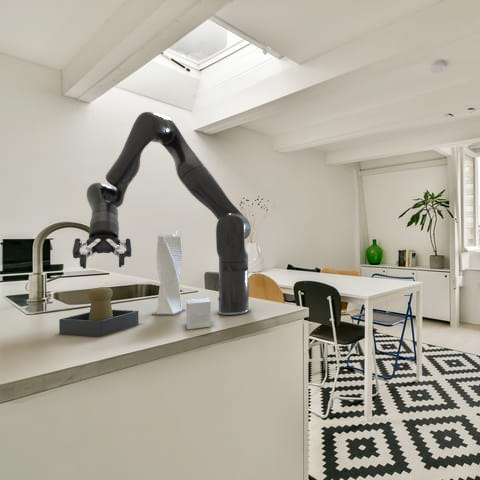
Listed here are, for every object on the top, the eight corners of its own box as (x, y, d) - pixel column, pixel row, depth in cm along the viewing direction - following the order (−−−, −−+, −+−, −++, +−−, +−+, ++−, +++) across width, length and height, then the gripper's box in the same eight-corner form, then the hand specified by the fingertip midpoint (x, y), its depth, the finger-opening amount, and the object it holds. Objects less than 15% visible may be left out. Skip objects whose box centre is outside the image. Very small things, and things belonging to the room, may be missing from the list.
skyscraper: (188, 310, 115) (188, 229, 114) (176, 316, 107) (176, 228, 106) (164, 310, 115) (164, 229, 114) (149, 315, 106) (149, 228, 106)
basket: (102, 322, 99) (102, 308, 99) (138, 324, 97) (138, 310, 97) (59, 334, 87) (59, 319, 87) (99, 336, 85) (99, 321, 85)
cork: (99, 331, 88) (99, 289, 88) (80, 329, 89) (80, 288, 89) (120, 325, 94) (120, 286, 94) (102, 323, 95) (102, 285, 95)
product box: (211, 327, 94) (211, 301, 94) (186, 329, 91) (186, 303, 91) (209, 322, 100) (209, 297, 100) (186, 324, 97) (186, 299, 97)
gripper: (74, 219, 102) (70, 258, 93) (131, 220, 110) (131, 257, 101) (76, 236, 106) (72, 275, 97) (130, 236, 115) (131, 272, 105)
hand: (102, 266), depth 99 cm, fingers open, 8 cm apart
